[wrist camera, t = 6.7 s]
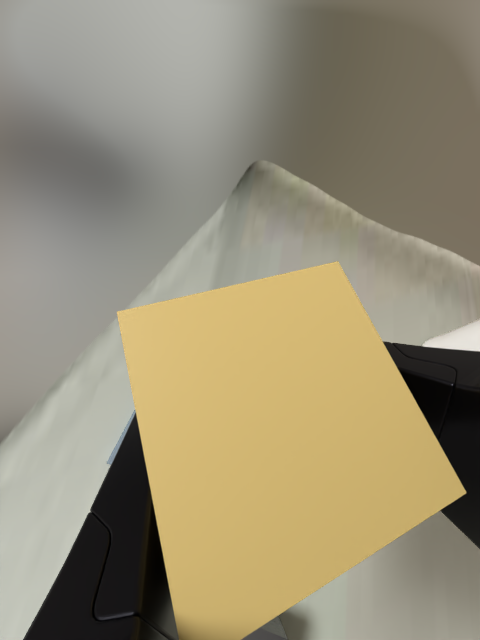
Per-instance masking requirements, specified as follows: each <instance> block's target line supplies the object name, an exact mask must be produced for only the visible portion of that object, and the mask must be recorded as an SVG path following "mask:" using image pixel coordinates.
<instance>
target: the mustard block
mask: <svg viewBox="0 0 480 640" xmlns="http://www.w3.org/2000/svg"><path fill="white" fill-rule="evenodd" d="M117 315H118V321H119V326H120V331H121V336H122V342H123V347H124V352H125V357H126V363H127V368H128V373H129V379H130V384H131V389H132V394H133V400H134V405H135V410H136V415H137V421H138V426H139V431H140V436H141V442H142V447H143V452H144V457H145V463H146V468H147V473H148V479H149V484H150V489H151V494H152V500H153V505H154V510H155V515H156V521H157V526H158V531H159V536H160V542H161V547H162V552H163V557H164V563H165V568H166V573H167V579H168V584H169V589H170V594H171V600H172V605H173V610H174V615H175V621H176V626H177V631H178V636H179V640H241V639H243V638H244V637H246V636H247V635H249V634H250V633H252V632H253V631H255V630H256V629H258V628H260V627H261V626H263V625H264V624H266V623H267V622H269V621H270V620H272V619H273V618H275V617H277V616H278V615H280V614H281V613H283V612H284V611H286V610H287V609H289V608H290V607H292V606H293V605H295V604H297V603H298V602H300V601H301V600H303V599H304V598H306V597H307V596H309V595H310V594H312V593H313V592H315V591H317V590H318V589H320V588H321V587H323V586H324V585H326V584H327V583H329V582H330V581H332V580H333V579H335V578H337V577H338V576H340V575H341V574H343V573H344V572H346V571H347V570H349V569H350V568H352V567H353V566H355V565H357V564H358V563H360V562H361V561H363V560H364V559H366V558H367V557H369V556H370V555H372V554H374V553H375V552H377V551H378V550H380V549H381V548H383V547H384V546H386V545H387V544H389V543H390V542H392V541H394V540H395V539H397V538H398V537H400V536H401V535H403V534H404V533H406V532H407V531H409V530H410V529H412V528H414V527H415V526H417V525H418V524H420V523H421V522H423V521H424V520H426V519H427V518H429V517H430V516H432V515H434V514H435V513H437V512H438V511H440V510H441V509H443V508H444V507H446V506H447V505H449V504H451V503H452V502H454V501H455V500H457V499H458V498H460V497H461V496H463V495H464V494H466V491H465V489H464V487H463V485H462V484H461V482H460V480H459V478H458V476H457V475H456V473H455V471H454V469H453V467H452V466H451V464H450V462H449V460H448V458H447V457H446V455H445V453H444V451H443V449H442V448H441V446H440V444H439V442H438V440H437V439H436V437H435V435H434V433H433V431H432V430H431V428H430V426H429V424H428V422H427V421H426V419H425V417H424V415H423V413H422V412H421V410H420V408H419V406H418V404H417V403H416V401H415V399H414V397H413V395H412V394H411V392H410V390H409V388H408V386H407V385H406V383H405V381H404V379H403V377H402V376H401V374H400V372H399V370H398V369H397V367H396V365H395V363H394V361H393V360H392V358H391V356H390V354H389V352H388V351H387V349H386V347H385V345H384V343H383V342H382V340H381V338H380V336H379V334H378V333H377V331H376V329H375V327H374V325H373V324H372V322H371V320H370V318H369V316H368V315H367V313H366V311H365V309H364V307H363V306H362V304H361V302H360V300H359V298H358V297H357V295H356V293H355V291H354V289H353V288H352V286H351V284H350V282H349V280H348V279H347V277H346V275H345V273H344V271H343V270H342V268H341V266H340V264H339V262H338V261H337V262H333V263H329V264H324V265H320V266H316V267H311V268H307V269H302V270H298V271H294V272H289V273H285V274H280V275H276V276H272V277H267V278H263V279H259V280H254V281H250V282H245V283H241V284H237V285H232V286H228V287H224V288H219V289H215V290H210V291H206V292H202V293H197V294H193V295H189V296H184V297H180V298H175V299H171V300H167V301H162V302H158V303H154V304H149V305H145V306H140V307H136V308H132V309H127V310H123V311H118V312H117Z"/></svg>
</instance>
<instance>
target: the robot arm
mask: <svg viewBox="0 0 480 640" xmlns="http://www.w3.org/2000/svg"><path fill="white" fill-rule="evenodd" d="M382 342H383V341H382ZM383 343H384V345H385V347H386V349H387V351H388V352H389V354H390V356H391V358H392V360H393V361H394V363H395V365H396V367H397V369H398V370H399V372H400V374H401V376H402V377H403V379H404V381H405V383H406V385H407V386H408V388H409V390H410V392H411V394H412V395H413V397H414V399H415V401H416V403H417V404H418V406H419V408H420V410H421V412H422V413H423V415H424V417H425V419H426V421H427V422H428V424H429V426H430V428H431V430H432V431H433V433H434V435H435V437H436V439H437V440H438V442H439V444H440V446H441V448H442V449H443V451H444V453H445V455H446V457H447V458H448V460H449V462H450V464H451V466H452V467H453V469H454V471H455V473H456V475H457V476H458V478H459V480H460V482H461V484H462V485H463V487H464V489H465V491H466V494H464V495H463V496H461V497H460V498H458V499H457V500H455V501H454V502H452V503H451V504H449V505H447V506H446V507H444V508H443V509H441V510H440V511H441V512H442V513H443V514H444V515H445V516H446V517H447V518H448V519H449V520H450V521H452V522H453V523H454V524H455V525H456V526H457V527H458V528H459V529H460V530H461V531H462V532H463V533H464V534H465V535H466V536H467V537H468V538H469V539H470V540H471V541H472V542H473V543H474V544H475V545H476V546H477V547H478V548H479V549H480V351H469V350H457V349H445V348H434V347H423V346H415V345H406V344H399V343H390V342H383ZM90 511H91V512H90V513H88V515H87V517H86V519H85V521H84V524H83V526H82V528H81V530H80V532H79V534H78V536H77V538H76V540H75V542H74V544H73V546H72V548H71V551H70V553H69V555H68V557H67V559H66V561H65V563H64V565H63V567H62V569H61V570H60V572H59V574H58V576H57V578H56V580H55V582H54V584H53V585H52V587H51V589H50V591H49V593H48V595H47V597H46V599H45V600H44V602H43V604H42V606H41V608H40V610H39V612H38V613H37V615H36V617H35V619H34V621H33V622H32V624H31V626H30V628H29V630H28V632H27V633H26V635H25V637H24V639H23V640H179V636H178V631H177V626H176V621H175V615H174V610H173V605H172V600H171V594H170V589H169V584H168V579H167V573H166V568H165V563H164V557H163V552H162V547H161V542H160V536H159V531H158V526H157V521H156V515H155V510H154V505H153V500H152V494H151V489H150V484H149V479H148V473H147V468H146V463H145V457H144V452H143V447H142V442H141V436H140V431H139V426H138V421H137V415H136V413H135V415H134V417H133V419H132V421H131V423H130V426H129V428H128V430H127V432H126V434H125V436H124V438H123V440H122V443H121V445H120V447H119V449H118V451H117V453H116V455H115V458H114V460H113V462H112V464H111V466H110V468H109V470H108V473H107V475H106V477H105V479H104V481H103V483H102V485H101V488H100V490H99V492H98V494H97V496H96V498H95V500H94V503H93V505H92V507H91V509H90Z"/></svg>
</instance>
